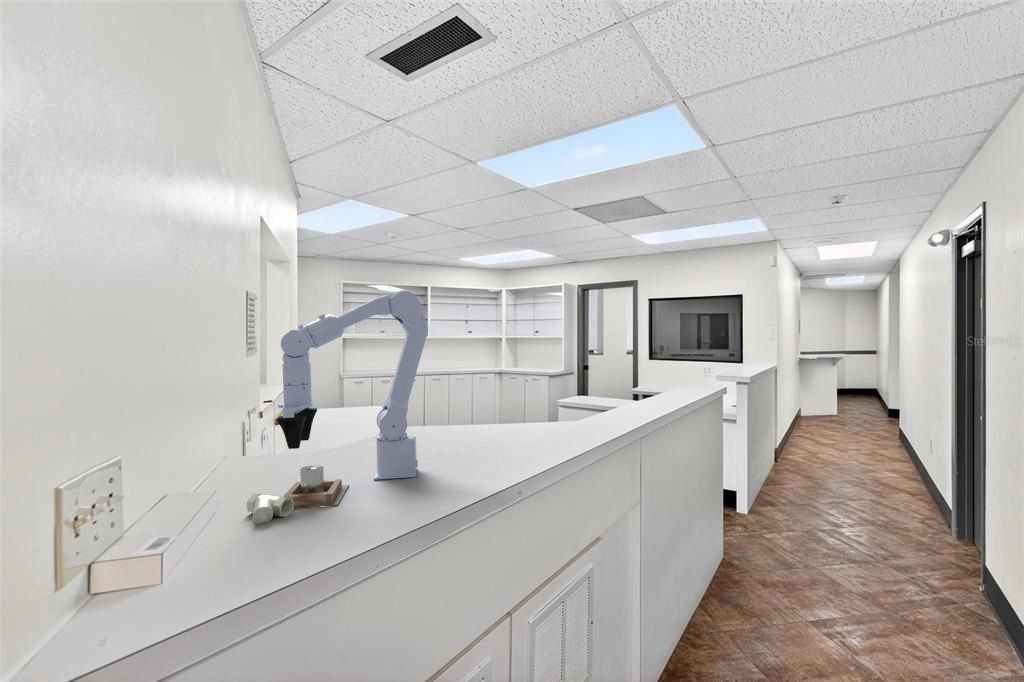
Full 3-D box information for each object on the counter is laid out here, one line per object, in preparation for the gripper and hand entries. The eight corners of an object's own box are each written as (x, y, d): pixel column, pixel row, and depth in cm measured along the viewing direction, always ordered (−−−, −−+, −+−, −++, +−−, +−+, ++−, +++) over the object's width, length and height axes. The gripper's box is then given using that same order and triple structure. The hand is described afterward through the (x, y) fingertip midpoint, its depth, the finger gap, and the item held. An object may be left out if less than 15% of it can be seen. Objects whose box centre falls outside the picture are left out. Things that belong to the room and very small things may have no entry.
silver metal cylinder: (326, 492, 100) (326, 464, 100) (320, 499, 96) (319, 470, 96) (305, 493, 100) (304, 465, 100) (297, 500, 96) (297, 471, 95)
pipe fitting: (266, 530, 84) (294, 513, 90) (264, 509, 84) (292, 493, 90) (232, 524, 86) (262, 508, 93) (230, 504, 86) (260, 489, 92)
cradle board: (349, 489, 105) (348, 476, 105) (337, 509, 93) (337, 495, 93) (292, 493, 103) (291, 480, 103) (273, 514, 91) (272, 500, 91)
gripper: (288, 381, 112) (290, 437, 112) (266, 388, 98) (268, 453, 98) (319, 380, 113) (321, 436, 114) (302, 387, 99) (304, 451, 99)
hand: (299, 444), depth 106 cm, fingers open, 7 cm apart
